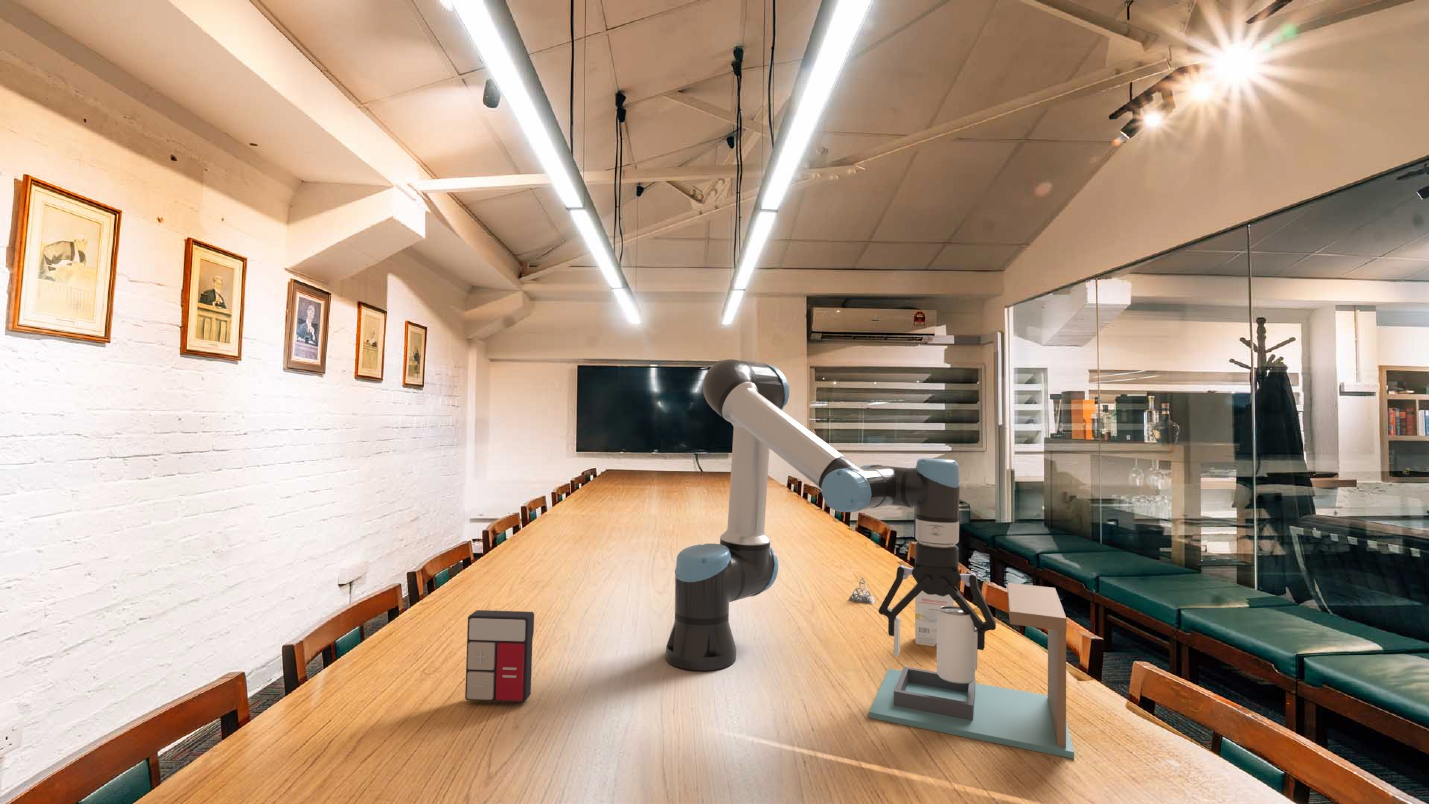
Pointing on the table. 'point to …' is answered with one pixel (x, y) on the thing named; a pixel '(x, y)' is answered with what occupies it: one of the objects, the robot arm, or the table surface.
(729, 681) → the table surface
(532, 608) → the table surface
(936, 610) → the ink cartridge box
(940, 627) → the can
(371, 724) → the table surface
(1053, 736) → the socket stand
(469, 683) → the calculator
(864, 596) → the house of cards
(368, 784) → the table surface
